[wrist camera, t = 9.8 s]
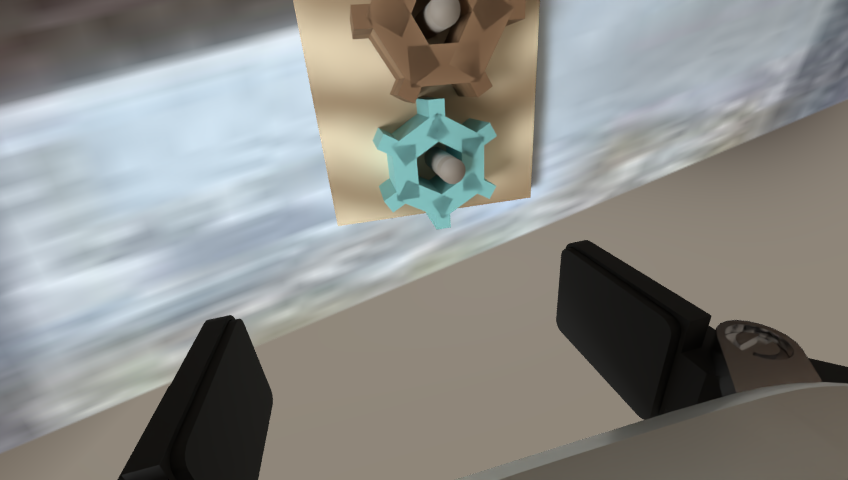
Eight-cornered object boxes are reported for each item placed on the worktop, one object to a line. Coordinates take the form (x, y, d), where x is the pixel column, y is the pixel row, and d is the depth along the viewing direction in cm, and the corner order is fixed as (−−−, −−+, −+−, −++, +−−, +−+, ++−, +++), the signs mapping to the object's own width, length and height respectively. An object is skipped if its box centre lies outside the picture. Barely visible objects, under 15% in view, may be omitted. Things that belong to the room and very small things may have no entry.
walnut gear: (321, -8, 21) (315, -28, 17) (442, -108, 20) (464, -151, 16) (414, 130, 25) (425, 137, 21) (517, 51, 24) (546, 45, 21)
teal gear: (367, 102, 24) (371, 105, 20) (475, 93, 25) (497, 93, 21) (382, 217, 27) (388, 236, 24) (477, 203, 28) (496, 220, 25)
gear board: (288, -39, 22) (265, -91, 15) (527, -46, 24) (592, -94, 18) (338, 217, 29) (336, 253, 22) (519, 191, 31) (564, 217, 25)
